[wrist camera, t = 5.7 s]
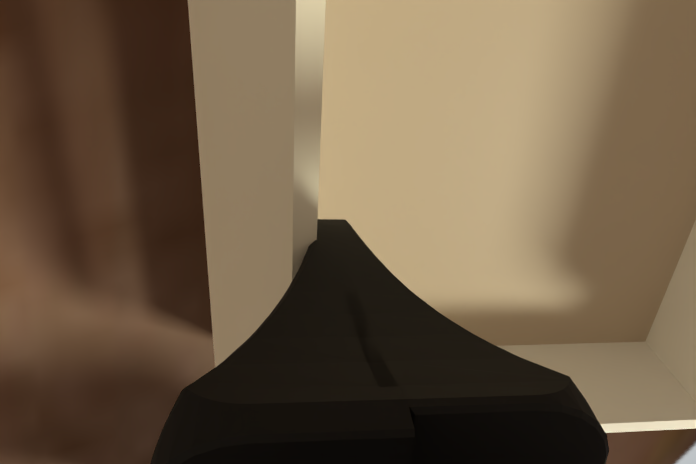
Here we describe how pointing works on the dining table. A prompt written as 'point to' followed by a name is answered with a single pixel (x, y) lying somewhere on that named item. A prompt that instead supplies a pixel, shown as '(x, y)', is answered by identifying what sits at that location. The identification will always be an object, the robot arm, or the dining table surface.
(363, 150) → the carton
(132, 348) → the dining table surface
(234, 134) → the cream flap
